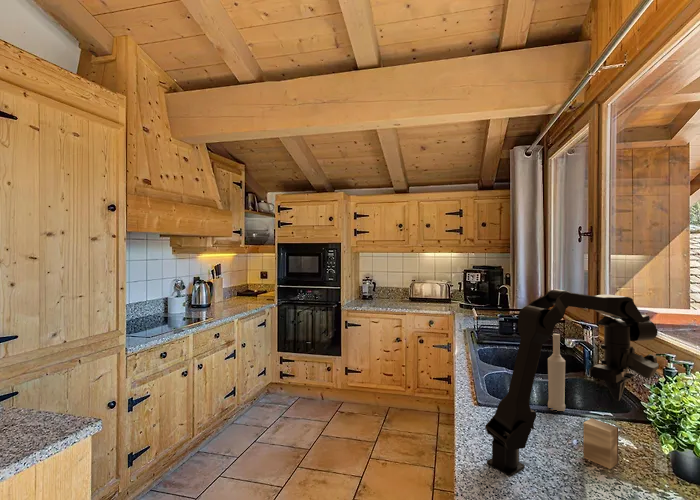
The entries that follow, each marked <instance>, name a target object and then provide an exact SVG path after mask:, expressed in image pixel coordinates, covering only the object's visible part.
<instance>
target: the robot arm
mask: <svg viewBox="0 0 700 500" xmlns="http://www.w3.org/2000/svg"><path fill="white" fill-rule="evenodd" d="M568 307H571V308H578V309H587V310H593V311H595V312H597V313H600V314H603V315H604V316H603V317H602V318H601V319H599V320H598V322H597V325H599V326H603V344H601V345H600V349H602V350H603V359H601V360H600V363H598V364H596V365H593V366H591V367H590V368H588V377H590V378H594V379H598V380H600V381H603V382H604V383H605V385H606V387H607V389H608V390H609V393H610V395H611V396H612V398H613V400H614V401H616V402H619V401H620V400H621V399H622V398H621V397H622V395H623V392H624V389H625V386H626V383H627V381H629V380H630V379H632V378H634V377H635V375H636V374H639V375H640V376H641V377H643V378H645V379H651V377H655V374H656V373H657V370H658V369H659V368H660V367H659V365H660V364H659V363H658V359H657V356H655V355H653V354H651V353H650V354H647V355H646V356H644V355H642V354H640V355H639V354H637V353H636V352H635V348H634V346H631V342H642V341H652V340H654V339H655V338H657V335H658V329H657V326H656V325H655V324H654V322H653V321H651V320H650V318H651V317H650V315H645V314H642V312H640V310H639V308H638V307H637V304H636V303H635V302H634V299H633V298H632V297H630V296H623V295H618V294H617V295H616V294H607V293H605V294H598V295H589V294H584V293H583V294H582V293H578V292H577V293H575V292H570V291H567V290H562V289H557V288H556V289H552V290H549V291H548V292H547V293H545V295H543V296H541V297H538V298H537V299H535V300H532V301H531V302H530V303H529V304H527V305H526V306H524V307H522V308H521V309H520V310H519V313H518V318H517V330H518V333H519V336H520V340H519V345H518V350H517V353H516V358H515V362H514V366H513V370H512V374H511V379H510V383H509V387H508V391H507V394H506V395H505V396H504V397H503V398H502V399H501V400H500V401H499V403H498V406H497V407H496V411H495V413H494V415H493V416H492V417H491V418H490V420H489V421H488V422H487V423H486V424H485V430H486V433H487V434H488V435H489V436H491V437H492V438H493V439H492V440H491V458H489V459H487V460H486V464H487V465H489V466H492V468H495V469H497V470H498V471H500V472H501V473H504V474H505V475H507V476H512V475H514V474H515V473H517V472H520V471H521V470H523V469H525V467H526V466H525V464H524V463H522V462H520V450H521V449H525V448H526V446H527V443H528V438H529V437H530V435H531V432H532V430H535V428H534V427H535V426H534V424H535V420H536V419H537V412H536V411H535V410H533V409H531V406H530V399H531V396H532V395H531V394H532V390H533V386H534V381H535V378H536V373H537V370H538V369H537V368H538V365H539V359H540V357H541V351H542V349H543V348H542V347H543V345H544V344H545V343H546V342H547V341H548V340H549V339H550V338H551V336H553V332H554V330H555V328H556V325H557V324H558V323H559V322H560V321H562V319H563V318H564V317H565V314H566V310H567V308H568ZM550 308H551V309H550ZM628 369H629V370H632V371H634V372H635V373H636V374H633V373H629V370H628Z"/></svg>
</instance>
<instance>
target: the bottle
mask: <svg viewBox="0 0 700 500" xmlns="http://www.w3.org/2000/svg"><path fill="white" fill-rule="evenodd" d="M560 343H561V334H560V333H552V354H551V355H550V356H549V357H548V358H547V380H548V382H547V383H548V385H547V387H548V401H547V407H548V409H549V408H553V409H550V410H551V411H553V410H557V411H563V412H565V410H566V404H565V397H566V396H565V392H566V391H565V389H566V388H565V387H566V360H565V358H564V357H562V355H561V349H560V347H561V345H560ZM557 411H556V412H557Z"/></svg>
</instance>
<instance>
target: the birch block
mask: <svg viewBox="0 0 700 500" xmlns="http://www.w3.org/2000/svg"><path fill="white" fill-rule="evenodd" d="M583 458H584V459H587V460H589V461H591V462H593V463H595V464H598V465H600V466H602V467H605V468H607V469H609V470H610V469H613V468H614V467H615V466H617V465H618V464H619V426H616V425H613V424H610V423H607V422H604V421H602V420H601V421H600V420H598V419H596V418H593V417H591V418H589V419H587V420H586V421H584V422H583Z"/></svg>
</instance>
